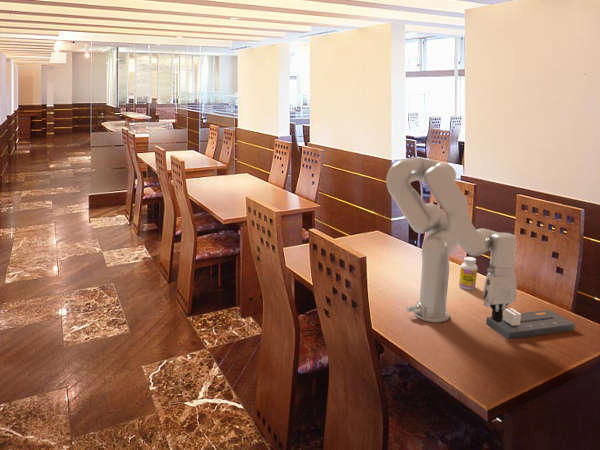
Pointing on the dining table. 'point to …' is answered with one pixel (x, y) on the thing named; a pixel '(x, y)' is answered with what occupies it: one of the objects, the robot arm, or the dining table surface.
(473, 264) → the supplement bottle
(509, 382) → the dining table surface
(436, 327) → the dining table surface
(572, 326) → the dimmer panel
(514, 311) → the fader
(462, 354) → the dining table surface
